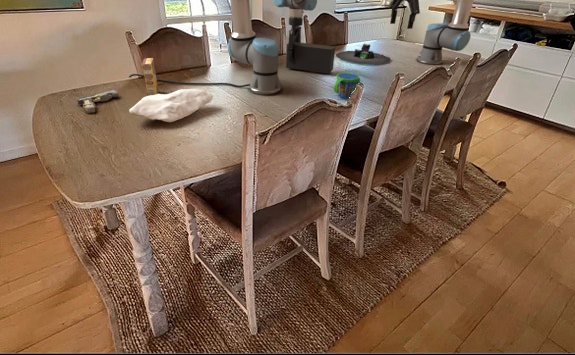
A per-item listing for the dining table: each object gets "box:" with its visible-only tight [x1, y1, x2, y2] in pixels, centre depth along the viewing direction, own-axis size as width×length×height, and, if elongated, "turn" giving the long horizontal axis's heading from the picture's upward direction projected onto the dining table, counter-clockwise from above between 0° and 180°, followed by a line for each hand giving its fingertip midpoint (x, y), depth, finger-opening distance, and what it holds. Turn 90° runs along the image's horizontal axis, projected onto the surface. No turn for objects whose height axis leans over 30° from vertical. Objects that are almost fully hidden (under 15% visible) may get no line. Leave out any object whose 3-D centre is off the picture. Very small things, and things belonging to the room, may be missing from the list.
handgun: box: [76, 89, 120, 114], centre depth 155 cm, size 3×18×15 cm
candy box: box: [141, 57, 160, 96], centre depth 163 cm, size 9×4×15 cm, turn 13°
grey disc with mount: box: [335, 43, 391, 65], centre depth 234 cm, size 35×35×9 cm
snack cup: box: [333, 72, 361, 100], centre depth 170 cm, size 16×10×10 cm
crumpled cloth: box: [129, 88, 214, 123], centre depth 147 cm, size 24×35×9 cm
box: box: [285, 42, 336, 74], centre depth 204 cm, size 26×8×13 cm, turn 70°
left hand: (293, 60), depth 208 cm, fingers closed on box, 8 cm apart
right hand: (400, 26), depth 188 cm, fingers open, 13 cm apart
